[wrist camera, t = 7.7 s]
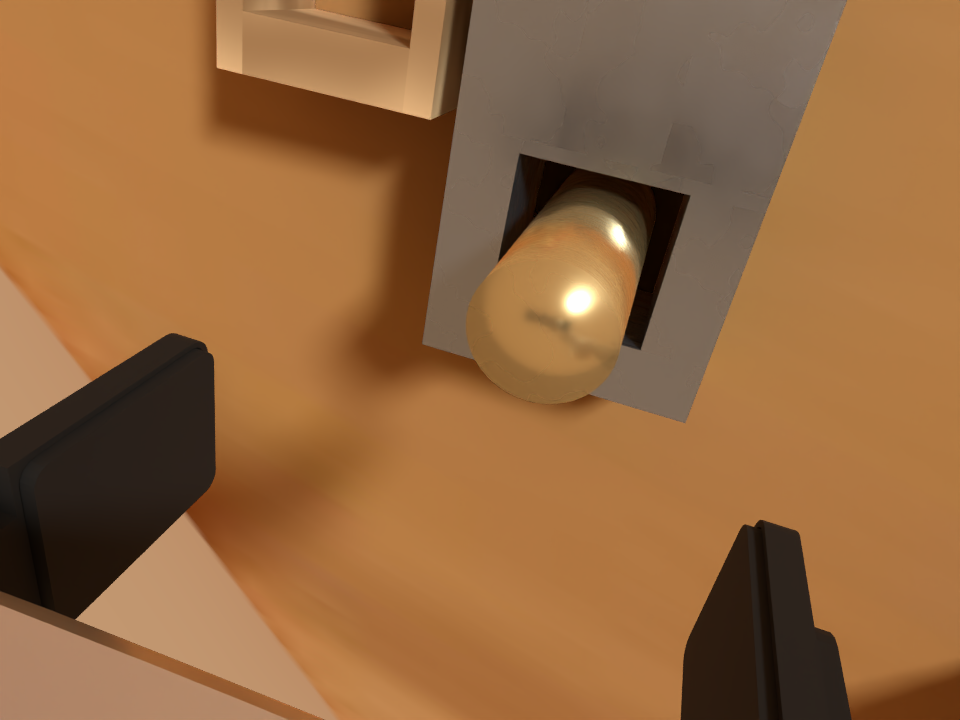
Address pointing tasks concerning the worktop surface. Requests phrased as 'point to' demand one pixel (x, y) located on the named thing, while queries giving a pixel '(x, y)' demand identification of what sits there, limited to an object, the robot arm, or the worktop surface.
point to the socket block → (629, 153)
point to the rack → (350, 52)
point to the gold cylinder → (564, 291)
